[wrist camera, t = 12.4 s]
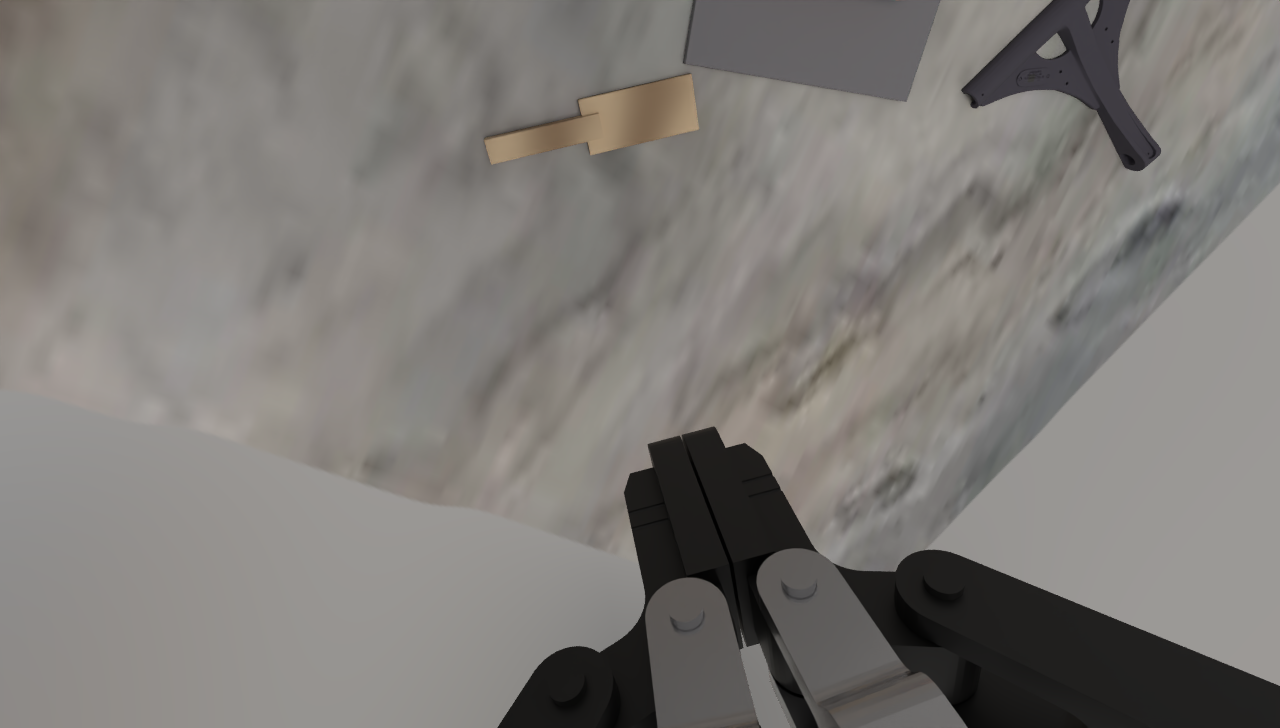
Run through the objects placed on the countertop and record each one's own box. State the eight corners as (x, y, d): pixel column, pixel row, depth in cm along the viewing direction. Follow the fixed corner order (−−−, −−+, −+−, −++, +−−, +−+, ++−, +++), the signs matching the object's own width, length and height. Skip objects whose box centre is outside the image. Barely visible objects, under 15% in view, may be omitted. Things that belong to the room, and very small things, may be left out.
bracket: (1043, 231, 46) (1072, 242, 44) (955, 89, 40) (983, 92, 37) (1211, 83, 43) (1253, 86, 40) (1146, -100, 36) (1190, -110, 34)
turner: (496, 175, 37) (496, 179, 36) (480, 122, 35) (479, 124, 34) (696, 128, 37) (700, 130, 36) (689, 73, 36) (693, 74, 35)
